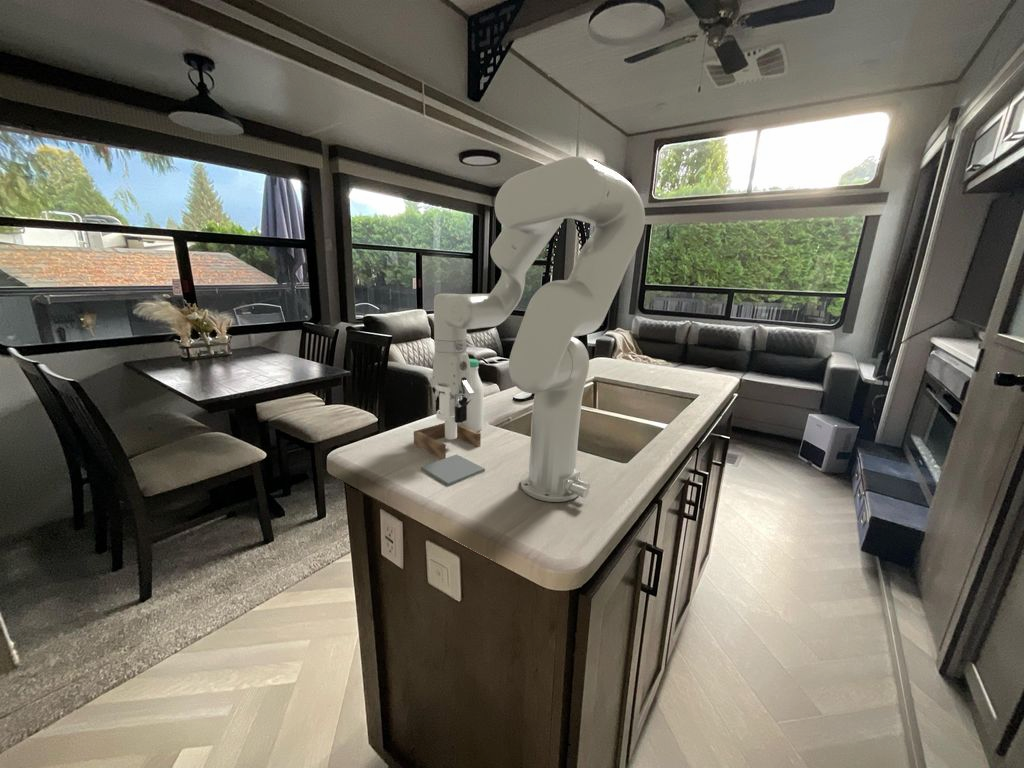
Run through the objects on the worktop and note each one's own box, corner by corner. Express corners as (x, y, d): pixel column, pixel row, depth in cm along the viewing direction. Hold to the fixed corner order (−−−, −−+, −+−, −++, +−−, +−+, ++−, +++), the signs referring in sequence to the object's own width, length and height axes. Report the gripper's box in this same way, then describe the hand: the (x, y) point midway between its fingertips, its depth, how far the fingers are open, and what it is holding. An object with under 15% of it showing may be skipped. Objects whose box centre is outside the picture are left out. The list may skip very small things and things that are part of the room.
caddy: (480, 446, 103) (480, 433, 102) (442, 459, 94) (442, 445, 93) (451, 432, 111) (451, 421, 110) (413, 444, 102) (413, 431, 101)
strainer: (462, 443, 97) (462, 383, 93) (433, 441, 98) (432, 382, 94) (467, 432, 104) (467, 376, 100) (440, 431, 104) (439, 375, 101)
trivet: (484, 471, 89) (484, 468, 89) (448, 485, 82) (448, 483, 82) (456, 456, 96) (456, 454, 96) (421, 469, 89) (421, 466, 89)
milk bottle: (484, 424, 118) (486, 358, 113) (480, 434, 110) (481, 363, 105) (459, 423, 119) (459, 356, 114) (452, 432, 111) (453, 361, 106)
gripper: (486, 350, 92) (485, 423, 96) (441, 341, 104) (442, 406, 108) (461, 353, 87) (461, 430, 91) (416, 343, 98) (418, 412, 103)
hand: (450, 417), depth 99 cm, fingers closed on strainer, 7 cm apart
